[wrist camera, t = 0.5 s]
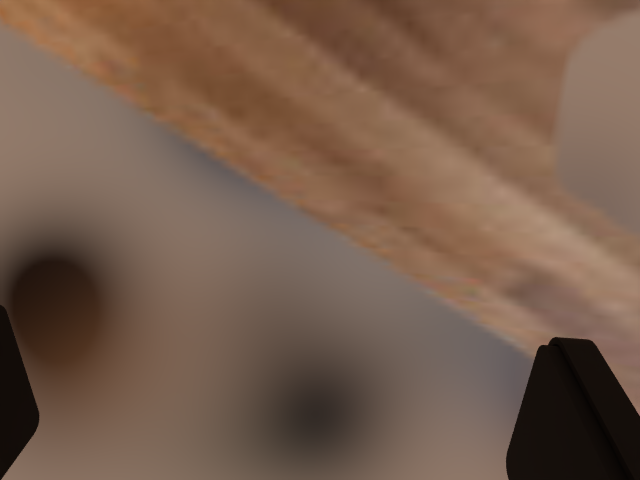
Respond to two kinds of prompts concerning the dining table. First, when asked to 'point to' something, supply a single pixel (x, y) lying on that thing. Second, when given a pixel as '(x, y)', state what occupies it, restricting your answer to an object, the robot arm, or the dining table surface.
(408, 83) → the dining table surface
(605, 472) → the robot arm
